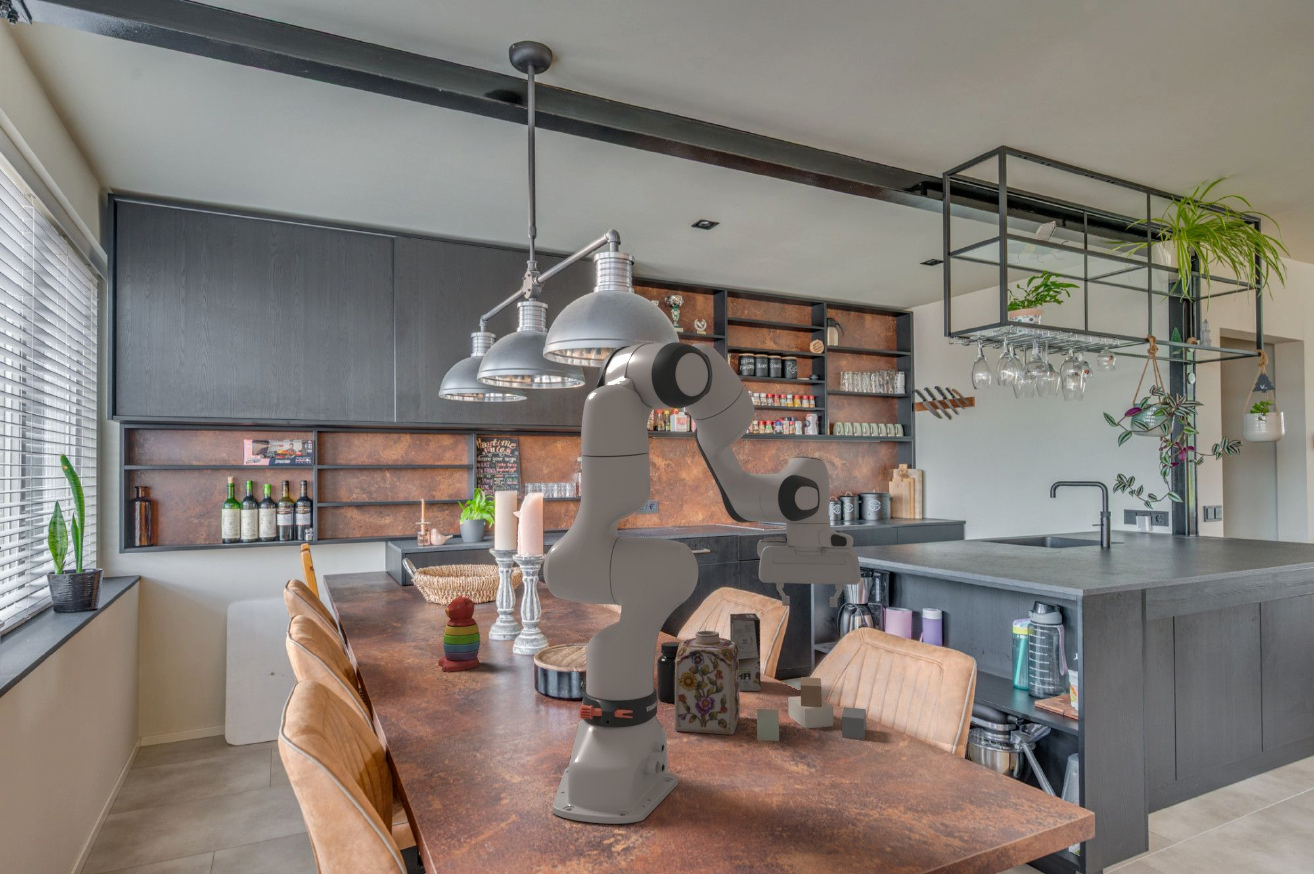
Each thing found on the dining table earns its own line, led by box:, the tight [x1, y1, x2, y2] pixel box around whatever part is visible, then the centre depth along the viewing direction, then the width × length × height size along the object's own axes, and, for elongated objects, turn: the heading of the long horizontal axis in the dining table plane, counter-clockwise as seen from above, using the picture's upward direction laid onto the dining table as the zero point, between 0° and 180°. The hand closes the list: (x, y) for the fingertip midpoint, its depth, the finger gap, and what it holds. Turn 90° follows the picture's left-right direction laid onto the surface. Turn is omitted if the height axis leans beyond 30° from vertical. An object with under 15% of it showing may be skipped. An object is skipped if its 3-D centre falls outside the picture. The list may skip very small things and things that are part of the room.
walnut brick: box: [800, 676, 823, 707], centre depth 149 cm, size 6×4×4 cm, turn 169°
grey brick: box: [841, 706, 867, 741], centre depth 141 cm, size 6×4×4 cm, turn 161°
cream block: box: [787, 695, 835, 729], centre depth 149 cm, size 8×6×4 cm
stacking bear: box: [437, 595, 481, 673], centre depth 194 cm, size 11×10×18 cm
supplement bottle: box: [656, 641, 681, 704], centre depth 164 cm, size 7×7×12 cm
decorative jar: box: [674, 630, 741, 736], centre depth 148 cm, size 12×12×18 cm
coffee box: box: [729, 612, 761, 692], centre depth 174 cm, size 9×6×16 cm
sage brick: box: [756, 708, 780, 742], centre depth 141 cm, size 6×4×4 cm, turn 172°
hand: (809, 605), depth 150 cm, fingers open, 8 cm apart
